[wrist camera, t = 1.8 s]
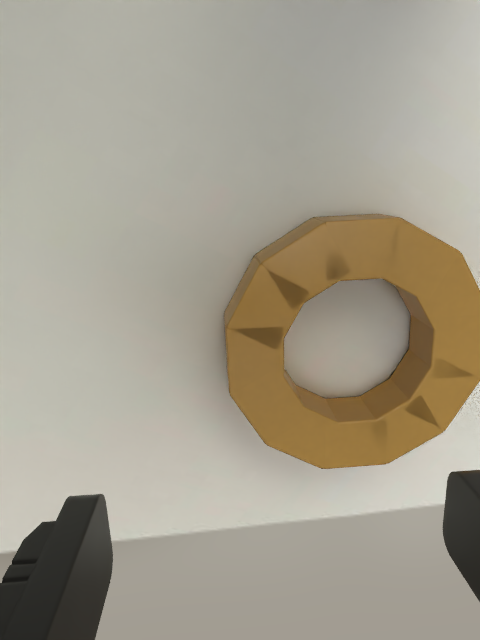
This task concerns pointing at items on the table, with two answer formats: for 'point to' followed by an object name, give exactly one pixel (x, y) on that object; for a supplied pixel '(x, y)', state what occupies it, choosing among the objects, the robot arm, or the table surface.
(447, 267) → the ring
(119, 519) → the table surface
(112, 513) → the table surface
